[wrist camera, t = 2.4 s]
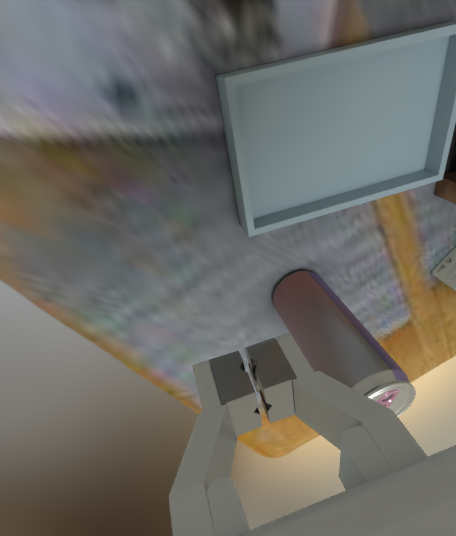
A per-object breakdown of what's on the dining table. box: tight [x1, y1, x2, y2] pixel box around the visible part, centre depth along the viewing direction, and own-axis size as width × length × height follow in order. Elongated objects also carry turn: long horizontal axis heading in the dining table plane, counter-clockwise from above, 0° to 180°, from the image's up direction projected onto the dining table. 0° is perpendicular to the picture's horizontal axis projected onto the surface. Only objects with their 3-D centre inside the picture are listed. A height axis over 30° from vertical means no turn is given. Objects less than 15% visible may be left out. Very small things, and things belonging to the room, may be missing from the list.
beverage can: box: [273, 271, 416, 417], centre depth 31 cm, size 6×6×15 cm
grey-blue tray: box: [215, 21, 456, 237], centre depth 27 cm, size 12×19×2 cm, turn 100°
